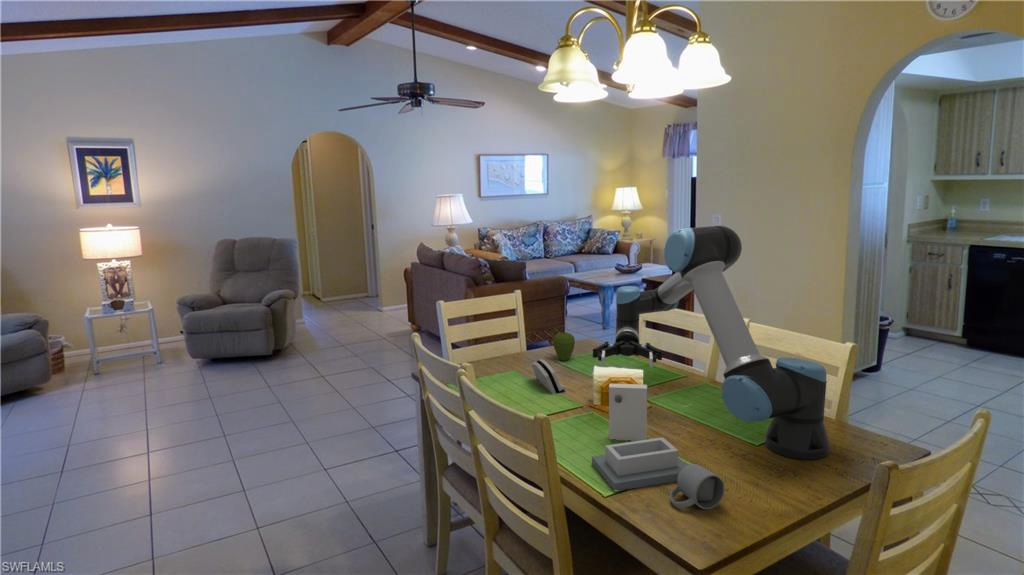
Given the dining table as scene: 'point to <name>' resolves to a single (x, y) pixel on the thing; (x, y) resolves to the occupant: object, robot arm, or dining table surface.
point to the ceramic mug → (698, 487)
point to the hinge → (547, 376)
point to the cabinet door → (628, 412)
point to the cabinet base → (639, 464)
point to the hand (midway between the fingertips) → (626, 362)
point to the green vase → (564, 345)
